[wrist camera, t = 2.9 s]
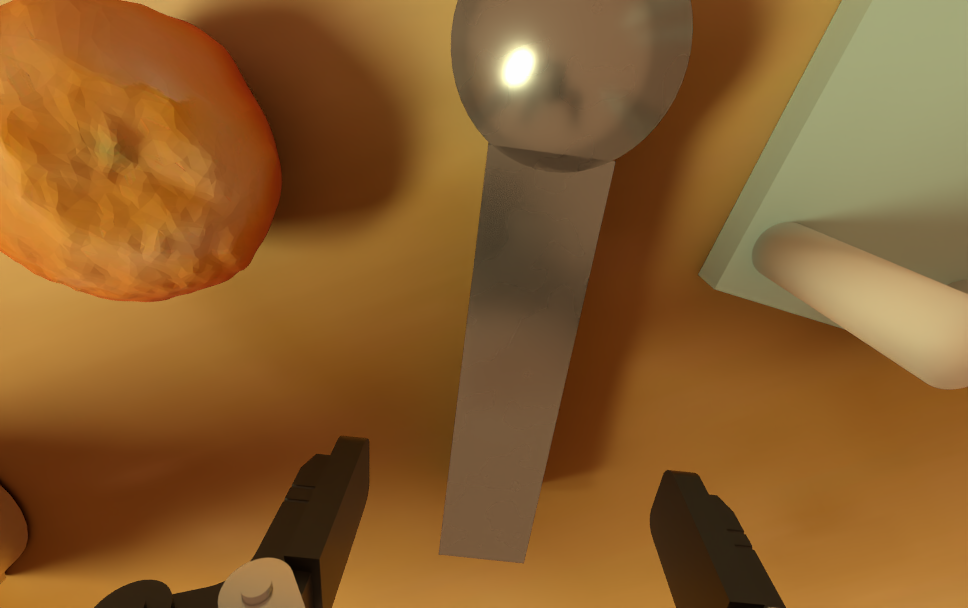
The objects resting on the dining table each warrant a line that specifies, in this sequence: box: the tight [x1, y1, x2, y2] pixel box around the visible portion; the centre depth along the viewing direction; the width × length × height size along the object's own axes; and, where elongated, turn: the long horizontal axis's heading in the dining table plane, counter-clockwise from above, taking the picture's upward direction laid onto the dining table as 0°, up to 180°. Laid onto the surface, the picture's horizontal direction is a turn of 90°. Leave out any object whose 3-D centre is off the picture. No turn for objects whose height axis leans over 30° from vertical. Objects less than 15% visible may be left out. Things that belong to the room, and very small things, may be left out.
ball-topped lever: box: [439, 0, 693, 563], centre depth 16 cm, size 24×6×4 cm, turn 173°
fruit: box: [0, 0, 282, 302], centre depth 14 cm, size 8×8×8 cm
